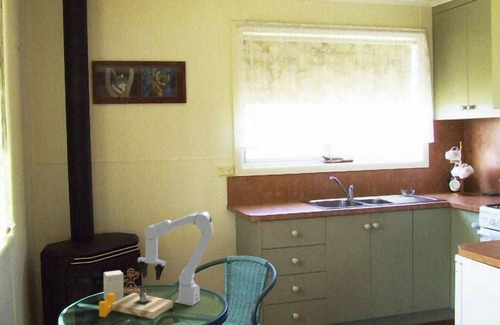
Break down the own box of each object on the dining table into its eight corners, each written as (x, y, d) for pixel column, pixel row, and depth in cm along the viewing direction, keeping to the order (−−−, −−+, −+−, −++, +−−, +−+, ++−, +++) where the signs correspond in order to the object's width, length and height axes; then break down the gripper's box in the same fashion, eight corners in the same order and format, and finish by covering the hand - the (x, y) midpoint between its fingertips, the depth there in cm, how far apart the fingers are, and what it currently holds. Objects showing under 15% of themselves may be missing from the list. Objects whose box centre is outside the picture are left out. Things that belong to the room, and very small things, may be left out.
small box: (120, 296, 249) (120, 269, 247) (123, 300, 243) (123, 273, 242) (103, 298, 245) (103, 271, 244) (106, 302, 239) (106, 275, 238)
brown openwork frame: (121, 294, 251) (121, 270, 250) (121, 291, 255) (121, 267, 254) (139, 293, 254) (140, 269, 252) (139, 290, 257) (139, 267, 256)
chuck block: (172, 306, 236) (172, 300, 236) (152, 318, 222) (152, 312, 222) (133, 298, 245) (133, 292, 245) (111, 309, 231) (111, 303, 230)
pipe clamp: (105, 306, 235) (106, 292, 234) (115, 307, 235) (115, 293, 234) (95, 316, 223) (95, 302, 223) (104, 317, 223) (105, 302, 222)
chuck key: (148, 306, 236) (149, 291, 235) (142, 310, 230) (142, 294, 230) (143, 305, 237) (143, 290, 236) (136, 309, 231) (136, 293, 231)
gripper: (134, 250, 242) (133, 278, 243) (159, 254, 236) (159, 283, 237) (142, 247, 248) (142, 274, 249) (168, 251, 242) (167, 279, 244)
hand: (151, 278), depth 244 cm, fingers open, 7 cm apart
